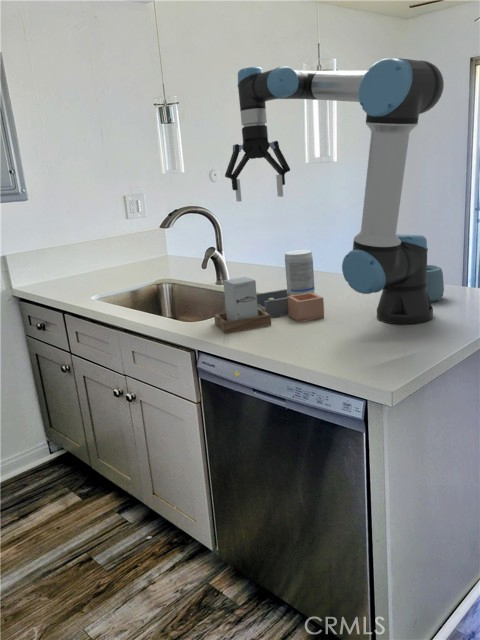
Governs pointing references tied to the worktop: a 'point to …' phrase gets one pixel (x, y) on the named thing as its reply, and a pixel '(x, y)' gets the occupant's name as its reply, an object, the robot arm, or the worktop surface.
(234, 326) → the trough
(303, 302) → the square terracotta planter
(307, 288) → the supplement tub
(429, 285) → the mug
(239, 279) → the supplement box
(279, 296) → the cradle
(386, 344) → the worktop surface
